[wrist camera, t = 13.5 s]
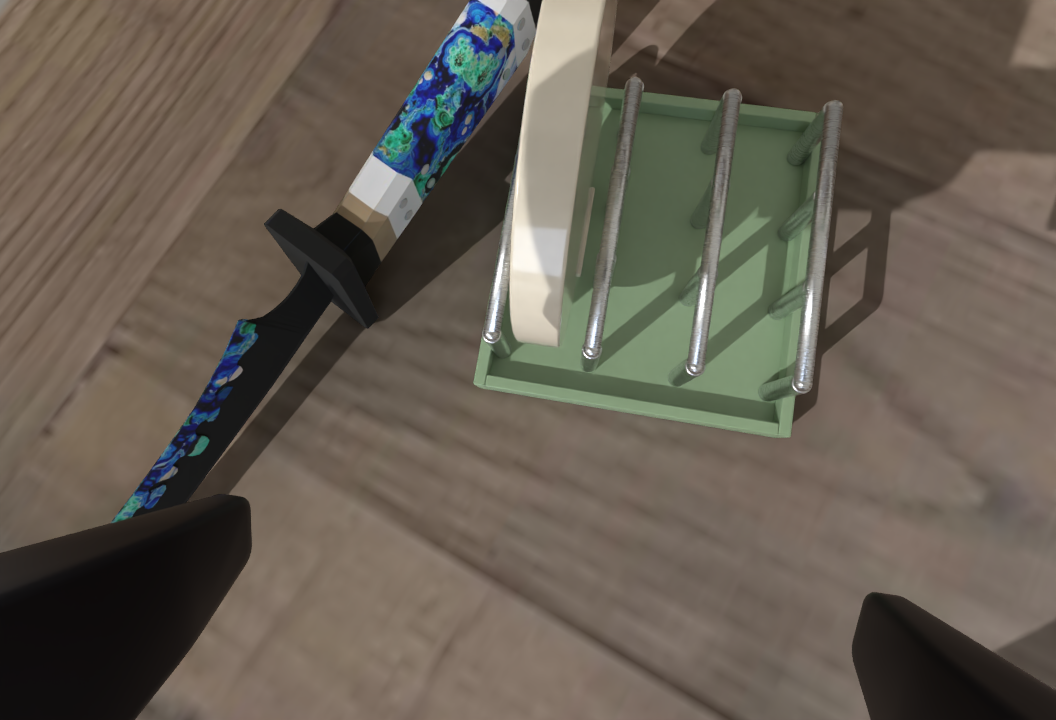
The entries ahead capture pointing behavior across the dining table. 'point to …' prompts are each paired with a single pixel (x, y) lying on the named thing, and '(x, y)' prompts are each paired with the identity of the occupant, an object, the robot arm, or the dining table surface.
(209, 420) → the knife
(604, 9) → the plate
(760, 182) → the dish rack
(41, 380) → the dining table surface
